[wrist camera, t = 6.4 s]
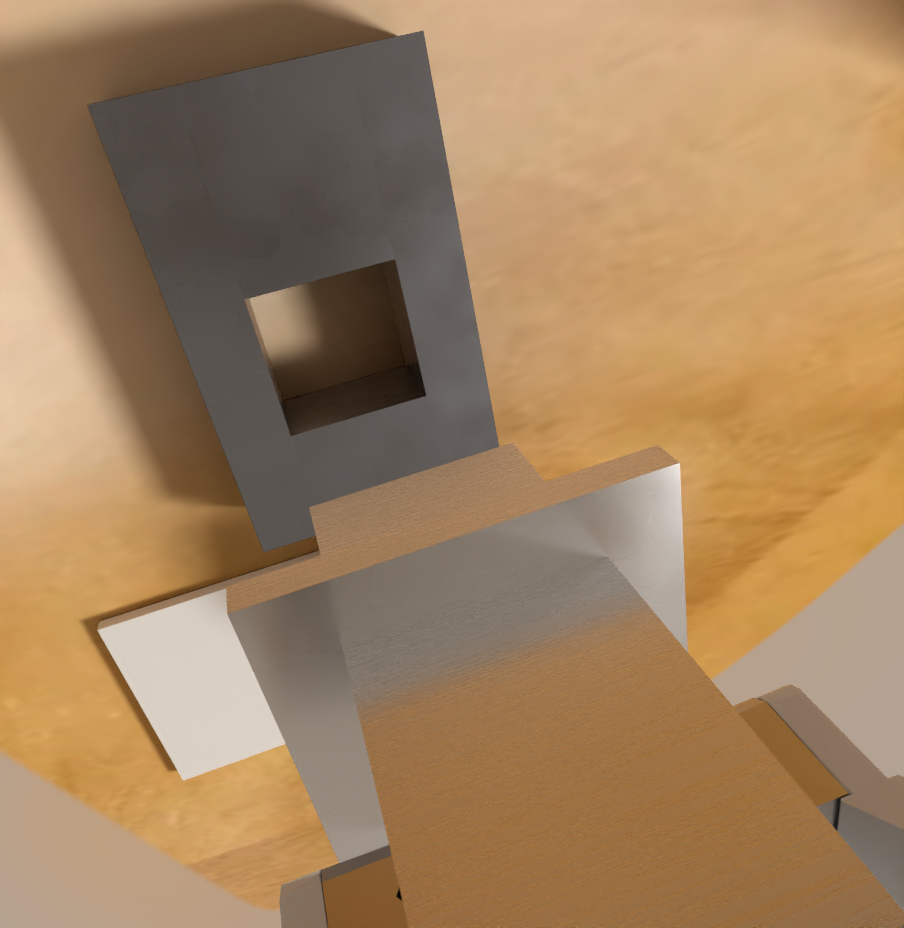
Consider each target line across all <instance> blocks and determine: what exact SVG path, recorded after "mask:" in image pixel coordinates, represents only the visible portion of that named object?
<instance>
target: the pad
mask: <svg viewBox="0 0 904 928" xmlns="http://www.w3.org/2000/svg"><path fill="white" fill-rule="evenodd" d="M317 556H320V551H316V552H313V553H310V554H307V555H304V556H301V557H297V558H294V559H291V560H288V561H285V562H282V563H279V564H276V565H273V566H270V567H267V568H263V569H260V570H257V571H254V572H251V573H248V574H245V575H242V576H239V577H236V578H232V579H229V580H226V581H223V582H220V583H217V584H214V585H211V586H208V587H205V588H201V589H198V590H195V591H192V592H189V593H186V594H183V595H180V596H177V597H174V598H171V599H167V600H164V601H161V602H158V603H155V604H152V605H149V606H146V607H143V608H140V609H136V610H133V611H130V612H127V613H124V614H121V615H118V616H115V617H112V618H109V619H105V620H102V621H99V625H98V629H97V631H98V632H99V634H100V636H101V638H102V639H103V641H104V643H105V645H106V646H107V648H108V650H109V652H110V653H111V655H112V657H113V659H114V660H115V662H116V664H117V666H118V667H119V669H120V671H121V673H122V674H123V676H124V678H125V680H126V681H127V683H128V685H129V687H130V688H131V690H132V692H133V694H134V695H135V697H136V699H137V701H138V702H139V704H140V706H141V708H142V709H143V711H144V713H145V715H146V716H147V718H148V720H149V722H150V723H151V725H152V727H153V729H154V730H155V732H156V734H157V736H158V737H159V739H160V741H161V743H162V744H163V746H164V748H165V750H166V751H167V753H168V755H169V757H170V758H171V760H172V762H173V764H174V765H175V767H176V769H177V771H178V772H179V774H180V776H181V778H182V779H183V780H186V779H189V778H192V777H195V776H197V775H200V774H203V773H206V772H208V771H211V770H214V769H217V768H220V767H222V766H225V765H228V764H231V763H233V762H236V761H239V760H242V759H245V758H247V757H250V756H253V755H256V754H258V753H261V752H264V751H267V750H270V749H272V748H275V747H278V746H281V745H283V744H286V743H285V741H284V739H283V737H282V734H281V732H280V730H279V728H278V725H277V723H276V721H275V719H274V717H273V714H272V712H271V710H270V708H269V706H268V703H267V701H266V699H265V697H264V694H263V692H262V690H261V688H260V686H259V683H258V681H257V679H256V677H255V675H254V672H253V670H252V668H251V666H250V663H249V661H248V659H247V657H246V655H245V652H244V650H243V648H242V646H241V644H240V641H239V639H238V637H237V635H236V632H235V630H234V628H233V626H232V624H231V621H230V619H229V617H228V615H227V598H226V586H229V585H232V584H235V583H238V582H241V581H244V580H247V579H250V578H253V577H256V576H259V575H262V574H265V573H268V572H271V571H274V570H277V569H280V568H284V567H287V566H290V565H293V564H296V563H299V562H302V561H305V560H308V559H311V558H314V557H317Z"/></svg>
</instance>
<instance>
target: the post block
mask: <svg viewBox="0 0 904 928" xmlns="http://www.w3.org/2000/svg"><path fill="white" fill-rule="evenodd" d="M87 106H88V109H89V111H90V114H91V116H92V119H93V121H94V124H95V126H96V129H97V131H98V134H99V136H100V139H101V142H102V144H103V147H104V149H105V152H106V154H107V157H108V159H109V162H110V164H111V167H112V169H113V172H114V174H115V177H116V179H117V182H118V185H119V187H120V190H121V192H122V195H123V197H124V200H125V202H126V205H127V207H128V210H129V212H130V215H131V217H132V220H133V222H134V225H135V228H136V230H137V233H138V235H139V238H140V240H141V243H142V245H143V248H144V250H145V253H146V255H147V258H148V260H149V263H150V266H151V268H152V271H153V273H154V276H155V278H156V281H157V283H158V286H159V288H160V291H161V293H162V296H163V298H164V301H165V303H166V306H167V309H168V311H169V314H170V316H171V319H172V321H173V324H174V326H175V329H176V331H177V334H178V336H179V339H180V341H181V344H182V346H183V349H184V352H185V354H186V357H187V359H188V362H189V364H190V367H191V369H192V372H193V374H194V377H195V379H196V382H197V384H198V387H199V390H200V392H201V395H202V397H203V400H204V402H205V405H206V407H207V410H208V412H209V415H210V417H211V420H212V422H213V425H214V427H215V430H216V433H217V435H218V438H219V440H220V443H221V445H222V448H223V450H224V453H225V455H226V458H227V460H228V463H229V465H230V468H231V470H232V473H233V476H234V478H235V481H236V483H237V486H238V488H239V491H240V493H241V496H242V498H243V501H244V503H245V506H246V508H247V511H248V514H249V516H250V519H251V521H252V524H253V526H254V529H255V531H256V534H257V536H258V539H259V541H260V544H261V546H262V549H263V551H264V552H267V551H270V550H273V549H276V548H279V547H282V546H286V545H289V544H292V543H295V542H298V541H301V540H304V539H307V538H311V537H314V536H316V534H315V530H314V526H313V521H312V517H311V513H310V509H309V507H311V506H315V505H318V504H321V503H324V502H327V501H330V500H333V499H337V498H340V497H343V496H346V495H349V494H352V493H356V492H359V491H362V490H365V489H368V488H371V487H374V486H378V485H381V484H384V483H387V482H390V481H393V480H397V479H400V478H403V477H406V476H409V475H412V474H415V473H419V472H422V471H425V470H428V469H431V468H434V467H438V466H441V465H444V464H447V463H450V462H453V461H456V460H460V459H463V458H466V457H469V456H472V455H475V454H479V453H482V452H485V451H488V450H491V449H494V448H497V447H499V444H498V438H497V433H496V427H495V422H494V416H493V411H492V405H491V400H490V394H489V389H488V383H487V378H486V372H485V367H484V361H483V356H482V350H481V345H480V339H479V334H478V328H477V323H476V317H475V312H474V306H473V301H472V295H471V290H470V285H469V279H468V274H467V268H466V263H465V257H464V252H463V246H462V241H461V235H460V230H459V224H458V219H457V213H456V208H455V202H454V197H453V191H452V186H451V180H450V175H449V169H448V164H447V158H446V153H445V147H444V142H443V136H442V131H441V125H440V120H439V114H438V109H437V103H436V98H435V92H434V87H433V81H432V76H431V71H430V65H429V60H428V54H427V49H426V43H425V38H424V32H423V31H420V32H415V33H410V34H406V35H401V36H397V37H392V38H388V39H383V40H379V41H374V42H370V43H365V44H361V45H356V46H352V47H347V48H343V49H338V50H334V51H329V52H325V53H320V54H316V55H311V56H306V57H302V58H297V59H293V60H288V61H284V62H279V63H275V64H270V65H266V66H261V67H257V68H252V69H248V70H243V71H239V72H234V73H230V74H225V75H221V76H216V77H212V78H207V79H202V80H198V81H193V82H189V83H184V84H180V85H175V86H171V87H166V88H162V89H157V90H153V91H148V92H144V93H139V94H135V95H130V96H126V97H121V98H117V99H112V100H107V101H103V102H98V103H94V104H89V105H87ZM379 263H382V268H383V272H384V276H385V280H386V284H387V289H388V293H389V297H390V301H391V305H392V310H393V314H394V318H395V322H396V326H397V330H398V335H399V339H400V343H401V347H402V351H403V356H404V360H405V364H406V365H405V366H402V367H398V368H395V369H391V370H388V371H384V372H381V373H377V374H374V375H371V376H367V377H364V378H360V379H357V380H353V381H350V382H346V383H343V384H340V385H336V386H333V387H329V388H326V389H322V390H319V391H315V392H312V393H308V394H305V395H302V396H298V397H295V398H291V399H288V400H284V401H283V399H282V396H281V393H280V390H279V387H278V384H277V381H276V378H275V375H274V372H273V369H272V366H271V363H270V360H269V357H268V354H267V351H266V349H265V346H264V343H263V340H262V337H261V334H260V331H259V328H258V325H257V322H256V319H255V316H254V313H253V310H252V307H251V304H250V301H249V298H252V297H256V296H259V295H263V294H267V293H271V292H274V291H278V290H282V289H285V288H289V287H293V286H297V285H300V284H304V283H308V282H312V281H315V280H319V279H323V278H327V277H330V276H334V275H338V274H342V273H345V272H349V271H353V270H357V269H360V268H364V267H368V266H371V265H375V264H379Z"/></svg>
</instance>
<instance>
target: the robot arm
mask: <svg viewBox="0 0 904 928" xmlns="http://www.w3.org/2000/svg"><path fill="white" fill-rule="evenodd" d="M733 707H734V708H735V710H736V711H737V712H738V713H739V714H740V716H741V717H742V718H743V719H744V720H745V722H746V723H747V724H748V725H749V726H750V728H751V729H752V730H753V731H754V732H755V734H756V735H757V736H758V737H759V738H760V740H761V741H762V742H763V743H764V744H765V746H766V747H767V748H768V749H769V750H770V752H771V753H772V754H773V755H774V756H775V758H776V759H777V760H778V761H779V762H780V764H781V765H782V766H783V767H784V768H785V770H786V771H787V772H788V773H789V774H790V776H791V777H792V778H793V779H794V780H795V782H796V783H797V784H798V785H799V786H800V788H801V789H802V790H803V791H804V792H805V794H806V795H807V796H808V797H809V798H810V800H811V801H812V802H813V803H814V804H815V806H816V807H817V808H818V809H819V810H820V812H821V813H822V814H823V815H824V816H825V818H826V819H827V820H828V821H829V822H830V824H831V825H832V826H833V827H834V828H835V830H836V831H837V832H838V833H839V834H840V836H841V837H842V838H843V839H844V840H845V842H846V843H847V844H848V845H849V846H850V847H851V849H852V850H853V851H854V852H855V853H856V855H857V856H858V857H859V858H860V859H861V861H862V862H863V863H864V864H865V865H866V867H867V868H868V869H869V870H870V871H871V873H872V874H873V875H874V876H875V877H876V879H877V880H878V881H879V882H880V883H881V885H882V886H883V887H884V888H885V889H886V891H887V892H888V893H889V894H890V895H891V897H892V898H893V899H894V900H895V901H896V903H897V904H898V905H899V906H900V907H901V909H902V910H903V911H904V777H902V776H900V775H896V776H893V777H891V778H887V777H886V776H885V775H884V774H883V773H882V772H881V771H880V770H879V769H878V768H877V767H876V766H875V765H874V764H873V763H872V762H871V761H870V760H869V759H868V758H867V757H866V756H865V755H864V754H863V753H862V752H861V751H860V750H859V749H858V748H857V746H856V745H855V744H854V743H853V742H852V741H851V740H850V739H848V737H847V736H846V735H845V734H844V733H843V732H841V730H840V729H839V728H838V727H837V726H836V725H835V724H834V723H833V722H832V721H831V720H830V719H829V718H828V717H827V716H826V715H825V714H824V713H823V712H822V711H821V710H820V709H819V708H818V707H817V706H816V705H815V704H814V703H813V702H812V701H811V700H810V699H809V698H808V697H807V696H806V695H805V694H804V693H803V691H802V690H801V689H799V688H797V687H795V686H793V685H787V686H783V687H781V688H779V689H776V690H774V691H772V692H769V693H767V694H764V695H762V696H760V697H757V698H752V699H749V700H747V701H744V702H742V703H739V704H737V705H735V706H733ZM280 913H281V924H282V928H409V926H408V922H407V918H406V913H405V909H404V905H403V901H402V897H401V892H400V888H399V884H398V880H397V876H396V871H395V867H394V863H393V859H392V854H391V850H390V846H389V844H388V845H385V846H383V847H380V848H377V849H375V850H372V851H369V852H367V853H364V854H362V855H359V856H356V857H354V858H351V859H348V860H346V861H343V862H341V863H338V864H335V865H333V866H330V867H327V868H325V869H321V870H318V871H316V872H313V873H311V874H308V875H306V876H303V877H301V878H298V879H296V880H293V881H291V882H288V883H286V884H283V885H281V893H280Z"/></svg>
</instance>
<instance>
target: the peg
mask: <svg viewBox="0 0 904 928" xmlns="http://www.w3.org/2000/svg"><path fill="white" fill-rule="evenodd" d="M309 509H310V513H311V517H312V521H313V526H314V530H315V534H316V538H317V542H318V547H319V551H320V556H317V557H314V558H311V559H308V560H305V561H302V562H299V563H296V564H293V565H290V566H287V567H284V568H280V569H277V570H274V571H271V572H268V573H265V574H262V575H259V576H256V577H253V578H250V579H247V580H244V581H241V582H238V583H235V584H232V585H229V586H226V598H227V615H228V617H229V619H230V621H231V624H232V626H233V628H234V630H235V632H236V635H237V637H238V639H239V641H240V644H241V646H242V648H243V650H244V652H245V655H246V657H247V659H248V661H249V663H250V666H251V668H252V670H253V672H254V675H255V677H256V679H257V681H258V683H259V686H260V688H261V690H262V692H263V694H264V697H265V699H266V701H267V703H268V706H269V708H270V710H271V712H272V714H273V717H274V719H275V721H276V723H277V725H278V728H279V730H280V732H281V734H282V737H283V739H284V741H285V743H286V745H287V748H288V750H289V752H290V754H291V756H292V759H293V761H294V763H295V765H296V768H297V770H298V772H299V774H300V776H301V779H302V781H303V783H304V785H305V787H306V790H307V792H308V794H309V796H310V799H311V801H312V803H313V805H314V807H315V810H316V812H317V814H318V816H319V818H320V821H321V823H322V825H323V827H324V830H325V832H326V834H327V836H328V838H329V841H330V843H331V845H332V847H333V849H334V852H335V854H336V856H337V858H338V861H339V863H341V862H343V861H346V860H348V859H351V858H354V857H356V856H359V855H362V854H364V853H367V852H369V851H372V850H375V849H377V848H380V847H383V846H385V845H388V844H389V846H390V850H391V854H392V859H393V863H394V867H395V871H396V876H397V880H398V884H399V888H400V892H401V897H402V901H403V905H404V909H405V913H406V918H407V922H408V926H409V928H904V911H903V910H902V909H901V907H900V906H899V905H898V904H897V903H896V901H895V900H894V899H893V898H892V897H891V895H890V894H889V893H888V892H887V891H886V889H885V888H884V887H883V886H882V885H881V883H880V882H879V881H878V880H877V879H876V877H875V876H874V875H873V874H872V873H871V871H870V870H869V869H868V868H867V867H866V865H865V864H864V863H863V862H862V861H861V859H860V858H859V857H858V856H857V855H856V853H855V852H854V851H853V850H852V849H851V847H850V846H849V845H848V844H847V843H846V842H845V840H844V839H843V838H842V837H841V836H840V834H839V833H838V832H837V831H836V830H835V828H834V827H833V826H832V825H831V824H830V822H829V821H828V820H827V819H826V818H825V816H824V815H823V814H822V813H821V812H820V810H819V809H818V808H817V807H816V806H815V804H814V803H813V802H812V801H811V800H810V798H809V797H808V796H807V795H806V794H805V792H804V791H803V790H802V789H801V788H800V786H799V785H798V784H797V783H796V782H795V780H794V779H793V778H792V777H791V776H790V774H789V773H788V772H787V771H786V770H785V768H784V767H783V766H782V765H781V764H780V762H779V761H778V760H777V759H776V758H775V756H774V755H773V754H772V753H771V752H770V750H769V749H768V748H767V747H766V746H765V744H764V743H763V742H762V741H761V740H760V738H759V737H758V736H757V735H756V734H755V732H754V731H753V730H752V729H751V728H750V726H749V725H748V724H747V723H746V722H745V720H744V719H743V718H742V717H741V716H740V714H739V713H738V712H737V711H736V710H735V708H734V707H733V706H732V705H731V704H730V702H729V701H728V700H727V699H726V698H725V696H724V695H723V694H722V693H721V692H720V690H719V689H718V688H717V687H716V686H715V684H714V683H713V682H712V681H711V680H710V678H709V677H708V676H707V675H706V674H705V672H704V671H703V670H702V669H701V668H700V666H699V665H698V664H697V663H696V662H695V660H694V659H693V658H692V657H691V656H690V654H689V653H688V648H687V625H686V601H685V578H684V554H683V530H682V507H681V483H680V463H679V462H678V461H677V460H676V459H674V458H673V457H672V456H671V455H669V454H668V453H667V452H666V451H665V450H663V449H662V448H661V447H660V446H658V445H656V446H653V447H650V448H646V449H643V450H640V451H637V452H634V453H631V454H628V455H625V456H622V457H619V458H616V459H613V460H610V461H607V462H604V463H601V464H598V465H595V466H592V467H589V468H585V469H582V470H579V471H576V472H573V473H570V474H567V475H564V476H561V477H558V478H555V479H552V480H549V481H546V482H545V481H544V479H543V478H542V477H541V476H540V475H539V473H538V472H537V471H536V470H535V469H534V467H533V466H532V465H531V464H530V463H529V461H528V460H527V459H526V458H525V457H524V455H523V454H522V453H521V452H520V451H519V449H518V448H517V447H516V446H515V445H514V443H510V444H507V445H504V446H501V447H497V448H494V449H491V450H488V451H485V452H482V453H479V454H475V455H472V456H469V457H466V458H463V459H460V460H456V461H453V462H450V463H447V464H444V465H441V466H438V467H434V468H431V469H428V470H425V471H422V472H419V473H415V474H412V475H409V476H406V477H403V478H400V479H397V480H393V481H390V482H387V483H384V484H381V485H378V486H374V487H371V488H368V489H365V490H362V491H359V492H356V493H352V494H349V495H346V496H343V497H340V498H337V499H333V500H330V501H327V502H324V503H321V504H318V505H315V506H311V507H309Z"/></svg>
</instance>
